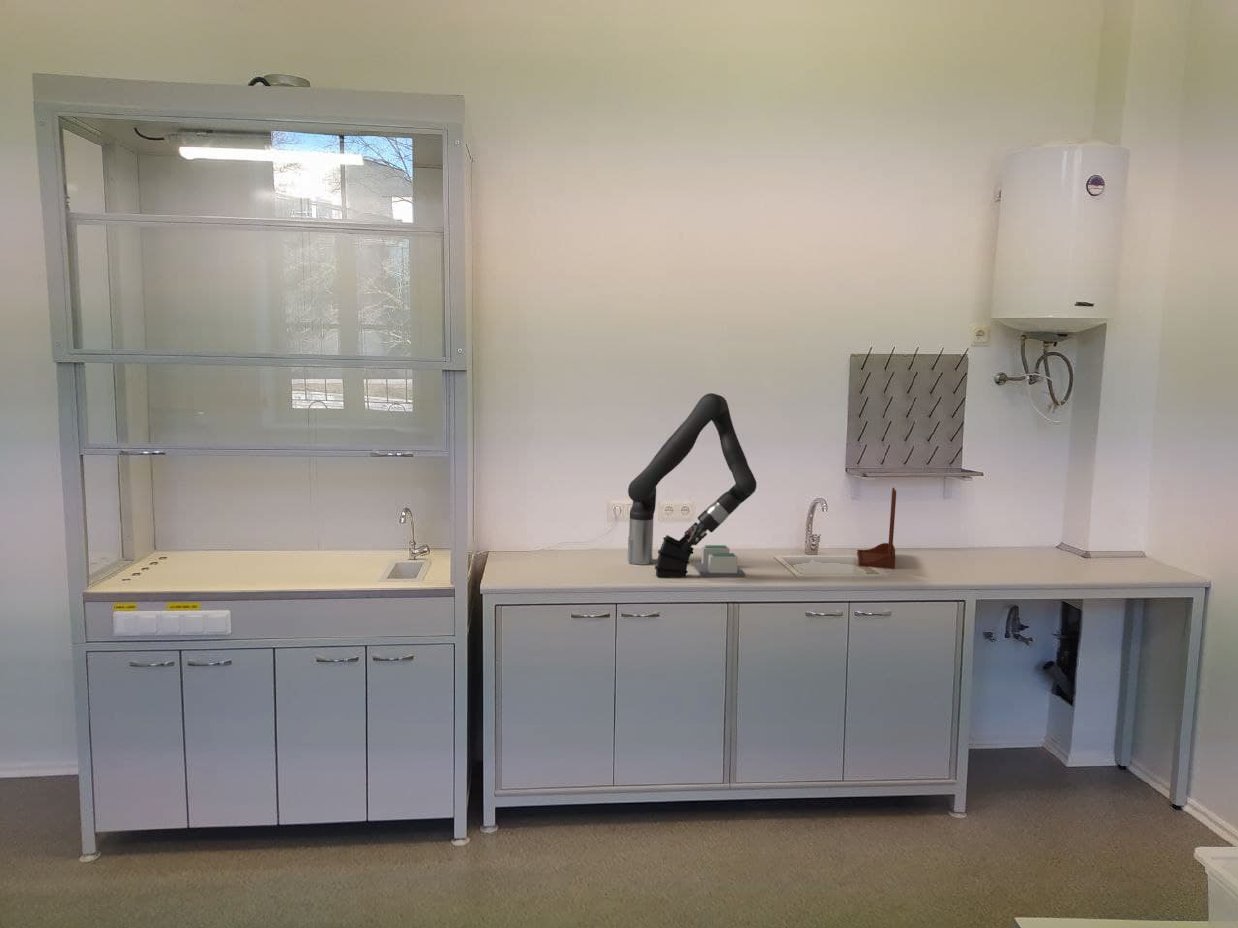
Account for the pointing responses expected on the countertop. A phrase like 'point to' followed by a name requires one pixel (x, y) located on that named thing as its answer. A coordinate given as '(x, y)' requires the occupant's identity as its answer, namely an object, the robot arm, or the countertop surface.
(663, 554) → the magazine
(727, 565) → the mounting plate
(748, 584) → the countertop surface
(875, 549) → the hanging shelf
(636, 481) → the robot arm
